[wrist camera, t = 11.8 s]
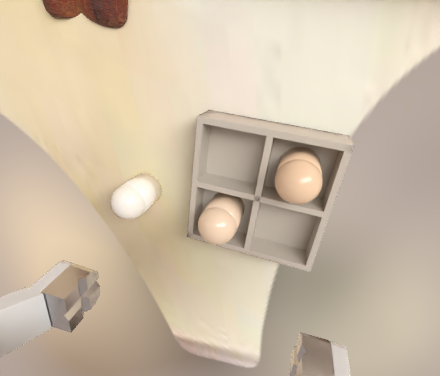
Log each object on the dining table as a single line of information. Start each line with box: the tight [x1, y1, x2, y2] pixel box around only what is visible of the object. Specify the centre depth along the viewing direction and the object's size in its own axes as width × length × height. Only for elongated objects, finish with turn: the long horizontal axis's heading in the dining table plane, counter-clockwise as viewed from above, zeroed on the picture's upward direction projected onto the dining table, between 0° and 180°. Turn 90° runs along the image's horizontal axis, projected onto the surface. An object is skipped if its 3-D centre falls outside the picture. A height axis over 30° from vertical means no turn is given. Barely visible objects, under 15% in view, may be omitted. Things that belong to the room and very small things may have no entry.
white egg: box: [110, 173, 162, 220], centre depth 33 cm, size 4×4×6 cm
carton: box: [187, 110, 354, 272], centre depth 29 cm, size 14×14×4 cm
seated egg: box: [198, 192, 245, 245], centre depth 29 cm, size 4×4×6 cm
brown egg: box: [275, 147, 323, 204], centre depth 25 cm, size 4×4×6 cm
